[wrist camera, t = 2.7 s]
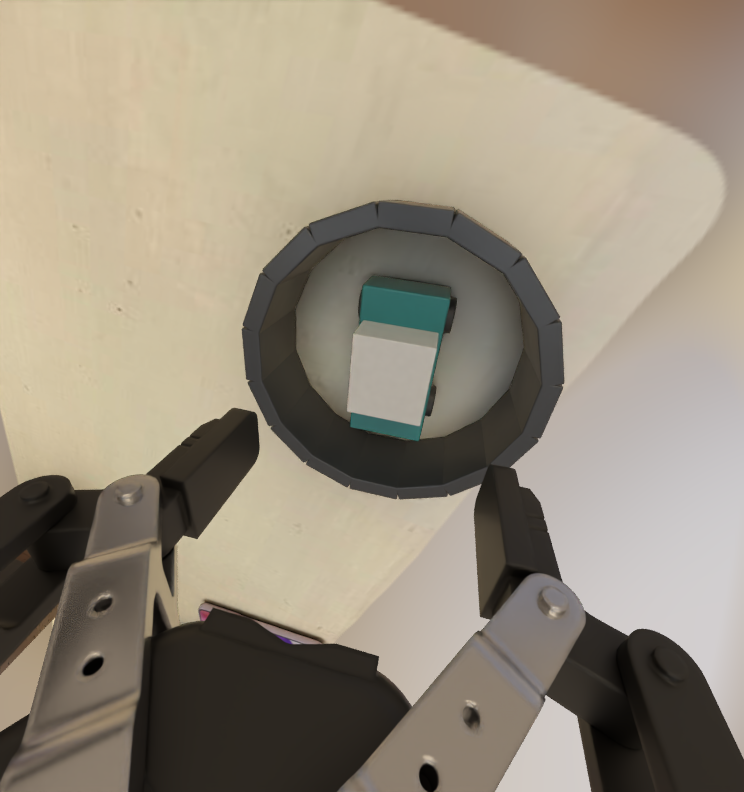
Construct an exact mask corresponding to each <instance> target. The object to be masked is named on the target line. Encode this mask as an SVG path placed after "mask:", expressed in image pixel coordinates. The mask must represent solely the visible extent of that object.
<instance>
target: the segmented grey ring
mask: <svg viewBox="0 0 744 792" xmlns="http://www.w3.org/2000/svg"><path fill="white" fill-rule="evenodd" d="M377 228H384V229H391V230H398V231H406V232H413V233H420V234H428V235H435V236H442V237H447V238H449V239H450V240H452V241H453V242H455V243H456V244H458V245H460V246H461V247H463V248H464V249H466V250H467V251H469V252H470V253H472V254H473V255H475V256H477V257H478V258H480V259H481V260H483V261H484V262H486V263H487V264H489V265H491V266H492V267H494V268H495V269H497V270H498V271H500V272H501V273H503V275H504V276H505V278H506V280H507V281H508V283H509V285H510V286H511V288H512V290H513V291H514V293H515V294H516V296H517V298H518V299H519V301H520V311H521V322H522V332H523V342H524V349H523V352H522V355H521V358H520V361H519V363H518V366H517V369H516V372H515V375H514V377H513V380H512V383H511V386H510V389H509V390H508V391H507V392H506V393H505V394H504V395H503V396H502V397H501V398H500V400H499V401H498V402H497V403H496V404H495V405H494V406H493V407H492V408H491V409H490V410H489V411H488V412H487V413H486V415H485V416H484V417H483V418H482V419H481V420H479V421H477V422H475V423H473V424H471V425H468V426H466V427H464V428H462V429H460V430H458V431H456V432H454V433H452V434H450V435H448V436H446V437H440V438H431V439H422V440H419V441H414V440H413V441H403V440H399V439H394V438H389V437H384V436H380V435H375V434H370V433H368V432H366V431H364V430H362V429H357V428H353V427H350V422H348V421H347V420H345V419H343V418H342V417H340V416H338V415H336V414H335V413H334V412H333V410H332V409H331V408H330V407H329V406H328V405H327V404H326V403H325V401H324V400H323V399H322V398H321V397H320V396H319V395H318V394H317V392H316V391H315V390H314V389H313V388H312V387H311V386H310V384H309V381H308V379H307V376H306V374H305V371H304V369H303V366H302V364H301V361H300V359H299V356H298V354H297V351H296V331H295V308H296V305H297V303H298V301H299V298H300V296H301V293H302V291H303V289H304V286H305V284H306V282H307V279H308V277H309V274H310V272H311V270H312V268H313V267H314V266H315V265H316V264H318V263H319V262H320V261H321V260H322V259H323V258H324V257H325V256H326V255H327V254H328V253H330V252H331V251H332V250H333V249H334V248H335V247H336V246H337V245H338V244H339V243H340V242H341V241H343V240H344V239H345V238H348V237H351V236H354V235H357V234H361V233H364V232H367V231H370V230H373V229H377ZM559 318H560V316H559V314H558V312H557V311H556V309H555V307H554V305H553V304H552V302H551V300H550V298H549V297H548V295H547V293H546V292H545V290H544V288H543V286H542V285H541V283H540V281H539V279H538V278H537V276H536V274H535V273H534V271H533V269H532V267H531V266H530V264H529V262H528V260H527V259H526V258H525V257H524V256H523V255H522V253H521V252H520V251H519V250H517V249H516V248H515V247H514V246H512V245H511V244H510V243H509V242H508V241H506V240H505V239H503V238H502V237H500V236H499V235H497V234H496V233H494V232H493V231H491V230H490V229H488V228H487V227H485V226H484V225H482V224H481V223H479V222H478V221H476V220H474V219H473V218H471V217H470V216H468V215H467V214H465V213H464V212H462V211H461V210H459V209H457V210H456V212H455V214H454V207H448V206H440V205H432V204H424V203H416V202H408V201H401V200H387V201H377V202H371V203H368V204H365V205H362V206H359V207H356V208H353V209H350V210H347V211H344V212H341V213H338V214H335V215H332V216H329V217H327V218H324V219H321V220H318V221H315V222H312V223H310V224H309V226H307V227H304V228H303V229H302V230H301V231H300V232H299V233H298V234H297V235H296V236H295V237H294V238H293V239H292V240H291V241H290V242H289V243H288V244H287V245H286V246H285V247H284V248H283V249H282V250H281V251H280V252H279V253H278V254H277V255H276V256H275V257H274V258H273V259H272V260H271V261H270V262H269V263H268V264H267V265H266V266H265V267H264V268H263V273H260V274H259V277H258V280H257V283H256V286H255V289H254V292H253V295H252V298H251V301H250V304H249V307H248V310H247V313H246V316H245V319H244V322H243V326H244V328H242V338H243V349H244V360H245V370H246V379H247V380H250V381H249V382H248V385H249V387H250V389H251V391H252V393H253V395H254V397H255V399H256V401H257V403H258V405H259V407H260V409H261V411H262V414H263V416H264V418H265V420H266V422H267V424H268V426H272V427H271V430H272V431H273V432H274V433H275V434H276V435H277V436H278V437H279V438H280V439H281V440H282V441H283V442H284V443H285V444H286V445H287V446H288V447H289V448H290V449H291V450H292V451H293V452H294V453H295V454H296V455H297V456H298V457H299V458H300V459H301V461H302V462H306V461H307V460H308V461H307V463H306V465H308V466H309V467H311V468H313V469H315V470H317V471H318V472H320V473H322V474H324V475H326V476H327V477H329V478H331V479H333V480H335V481H336V482H338V483H340V484H342V485H344V486H345V487H348V486H349V485H350V489H354V490H358V491H363V492H367V493H371V494H375V495H380V496H384V497H388V498H393V499H397V495H398V497H399V499H415V498H432V497H447V495H448V494H449V495H450V496H452V495H454V494H457V493H459V492H462V491H464V490H467V489H470V488H472V487H475V486H477V485H480V484H482V482H483V479H484V476H485V474H486V471H487V468H488V466H489V465H490V464H494V465H499V466H504V467H508V468H510V467H511V466H512V465H513V464H514V463H515V462H516V461H517V460H518V459H520V457H522V456H523V455H524V454H525V453H526V452H527V451H528V450H530V449H531V448H532V447H533V446H534V445H535V444H536V443H537V442H538V438H541V436H542V434H543V432H544V430H545V427H546V425H547V423H548V421H549V419H550V416H551V414H552V412H553V410H554V407H555V405H556V403H557V401H558V398H559V396H560V394H561V392H562V390H563V386H562V384H564V362H563V339H562V322H561V321H560V320H559Z"/></svg>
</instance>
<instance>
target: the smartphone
mask: <svg viewBox="0 0 744 792" xmlns="http://www.w3.org/2000/svg"><path fill="white" fill-rule="evenodd" d="M212 608H217V609H220V610H223V611H227V612H230V613H234V614H237V615H240V614H239V613H236V612H233V611H230V610H227V609H224V608H221V607H218V606H215V605H212V604H209V603H203V604H201V605H200V607H199V610H198V611H199V617H200V621H205V620H206V618H207V617H208V615H209V613H210V611H211V610H212ZM240 616H242V615H240ZM244 617H245V616H244ZM247 618H248V617H247ZM250 619H251V618H250ZM253 620H254V619H253ZM254 621H256V622H257V623H258V624H260V625H261V626H263V627H264V628H266V629H267V630H269V631H270V632H272V633H273V634H274V635H276V636H277V637H279V638H280V639H282V640H283V641H285V642H286V643H289V644H322V643H321V642H319V641H316V640H313V639H310V638H307V637H304V636H301V635H299V634H296V633H293V632H290V631H287V630H284V629H281V628H278V627H275V626H272V625H269V624H266V623H263V622H260V621H257V620H254Z"/></svg>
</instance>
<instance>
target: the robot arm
mask: <svg viewBox="0 0 744 792" xmlns="http://www.w3.org/2000/svg"><path fill="white" fill-rule="evenodd" d="M259 448H260V447H259V433H258V419H257V414H256V413H255V412H252V411H247V410H242V409H238V408H232V409H231V410H229V411H228V412H227V413H226V414H225V415H224V416H223V417H222V418H221V419H214V420H212V421H210V422H207V423H205V424H203V425H201V426H200V427H199V428H198V429H197V430H195V431H194V432H193V433H192V434H191V435H190V437H188V438H186V439H185V440H184V441H183V442H182V443H181V445H179V446H177V447H176V448H175V449H174V450H173V451H172V452H171V453H169V454H168V455H167V456H166V457H165V458H164V459H163V460H162V461H160V462H159V463H158V464H157V465H156V466H155V467H154V468H153V469H151V470H150V471H149V472H148V473H147V474H146V475H143V474H139V475H131V476H127V477H124V478H121V479H119V480H117V481H115V482H113V483H112V484H110V485H109V486H107V487H106V488H105V489H104V490H74V489H73V487H72V485H71V483H70V480H69V479H68V478H66V477H64V476H59V475H49V476H42V477H38V478H34V479H31V480H29V481H26V482H24V483H22V484H20V485H18V486H17V487H15V488H13V489H12V490H10V491H9V492H7V493H6V494H4V495H3V496H2V497H0V572H1V571H2V570H3V569H4V568H6V567H7V566H8V565H9V564H10V563H11V562H12V561H14V560H15V559H16V558H17V557H18V556H19V555H20V554H22V553H23V552H24V551H25V550H27V551H28V553H29V554H30V556H31V557H30V558H29V559H28V560H27V561H26V562H24V563H23V564H22V565H21V566H20V567H19V568H18V569H17V570H16V571H14V572H13V573H12V574H11V575H10V576H9V577H8V578H7V579H6V580H4V581H3V582H2V583H1V584H0V667H1V666H2V664H3V663H4V662H5V661H6V660H7V659H8V658H9V657H10V656H11V655H12V654H13V652H14V651H15V650H16V649H17V648H18V647H19V646H20V645H21V644H22V643H23V642H24V640H25V639H26V638H27V637H28V636H29V635H30V634H31V633H32V632H33V631H34V629H35V628H36V627H37V626H38V625H39V624H40V623H41V622H42V621H43V620H44V619H45V617H46V616H47V615H48V614H49V613H50V612H51V611H52V610H53V609H54V608H55V607H56V605H57V604H58V603H59V606H58V610H57V614H56V617H55V621H54V625H53V629H52V632H51V636H50V640H49V644H48V648H47V651H46V655H45V659H44V662H43V666H42V670H41V674H40V678H39V681H38V685H37V689H36V693H35V697H34V700H33V704H32V708H31V711H30V714H28V715H27V716H25V717H24V718H22V719H20V720H19V721H17V722H15V723H14V724H12V725H11V726H9V727H8V728H6V729H4V730H3V731H1V732H0V792H495V790H496V788H497V787H498V785H499V783H500V781H501V780H502V778H503V776H504V774H505V772H506V770H507V769H508V767H509V765H510V764H511V762H512V760H513V758H514V756H515V755H516V753H517V751H518V749H519V748H520V746H521V744H522V742H523V741H524V739H525V737H526V735H527V733H528V732H529V730H530V728H531V726H532V725H533V723H534V721H535V719H536V718H537V716H538V714H539V712H540V710H541V708H542V706H543V704H544V702H545V698H544V697H545V695H547V696H548V697H550V698H551V699H553V700H554V701H556V702H557V703H559V704H560V705H562V706H564V707H565V708H566V709H568V710H570V711H571V712H572V713H574V714H575V715H577V717H578V723H579V728H580V733H581V738H582V744H583V749H584V754H585V760H586V765H587V771H588V776H589V781H590V787H591V792H744V759H743V757H742V755H741V753H740V750H739V749H738V746H737V744H736V742H735V740H734V738H733V736H732V734H731V731H730V729H729V727H728V725H727V723H726V721H725V719H724V717H723V715H722V713H721V711H720V708H719V706H718V704H717V702H716V700H715V698H714V696H713V694H712V691H711V689H710V687H709V685H708V683H707V681H706V679H705V677H704V675H703V673H702V671H701V670H700V668H699V667H698V665H697V664H696V663H695V662H694V660H693V659H692V658H691V657H690V656H689V655H688V654H687V653H686V652H685V651H684V650H683V649H682V648H681V647H680V646H679V645H677V644H676V643H675V642H673V641H672V640H671V639H669V638H667V637H666V636H664V635H662V634H660V633H658V632H655V631H652V630H648V629H637V630H635V631H633V632H632V633H631V634H630V635H629V636H627V635H625V634H624V633H622V632H620V631H618V630H616V629H614V628H613V627H610V626H609V625H607V624H605V623H604V622H602V621H600V620H598V619H596V618H595V617H593V616H591V615H590V614H589V613H587V612H586V611H585V610H584V608H583V606H582V604H581V602H580V600H579V599H578V597H577V596H576V594H575V593H574V592H573V591H572V590H571V589H570V588H569V587H568V586H567V585H565V584H564V583H563V582H562V579H561V575H560V572H559V568H558V564H557V561H556V557H555V554H554V550H553V547H552V543H551V539H550V536H549V533H548V532H547V530H548V529H547V525H546V522H545V520H544V514H543V511H542V508H541V504H540V502H539V501H538V499H537V498H536V497H535V495H534V494H533V492H532V491H531V490H530V489H528V488H523V487H519V483H518V478H517V474H516V471H515V469H513V468H508V467H504V466H499V465H494V464H490V465H489V466H488V468H487V471H486V474H485V476H484V479H483V482H482V484H481V488H480V490H479V493H478V496H477V498H476V503H475V509H474V524H475V539H476V540H475V541H476V558H477V575H478V592H479V607H480V608H479V609H480V617H483V618H486V619H490V621H489V622H488V623H487V625H486V626H485V627H484V628H483V629H482V630H481V631H477V632H476V633H475V634H474V635H473V636H472V637H471V638H470V639H469V640H468V642H467V643H466V644H465V645H464V646H463V647H462V649H461V650H460V651H459V652H458V653H457V655H456V656H455V657H454V658H453V659H452V661H451V662H450V663H449V664H448V665H447V666H446V668H445V669H444V670H443V671H442V672H441V674H440V675H439V676H438V677H437V678H436V679H435V681H434V682H433V683H432V684H431V685H430V686H429V688H428V689H427V690H426V691H425V693H424V694H423V695H422V696H421V697H420V698H419V700H418V701H417V702H416V703H415V704H414V705H413V707H412V706H411V704H410V703H409V702H408V700H407V699H406V697H405V696H404V695H403V693H402V692H401V691H400V690H399V689H398V688H397V687H396V685H395V684H394V683H393V682H391V681H390V680H389V679H388V678H387V677H386V676H384V675H383V674H381V673H380V672H379V671H377V666H378V660H379V656H376V655H372V654H369V653H366V652H362V651H359V650H356V649H352V648H348V647H345V646H342V645H338V644H289V643H286V642H285V641H283V640H282V639H280V638H279V637H277V636H276V635H274V634H273V633H272V632H270V631H269V630H267V629H266V628H264V627H263V626H261V625H260V624H258V623H257V622H256V621H254V620H253V619H250V618H247V617H244V616H240V615H237V614H234V613H230V612H227V611H223V610H220V609H217V608H212V610H211V611H210V613H209V615H208V617H207V618H206V620H205V621H196V622H190V623H186V624H182V625H180V619H179V613H178V567H177V545H176V543H177V542H178V541H179V540H180V539H181V537H182V536H183V535H184V536H188V537H191V538H195V539H198V537H199V536H200V535H201V533H202V532H203V531H204V529H205V528H206V527H207V525H208V524H209V523H210V521H211V520H212V519H213V518H214V516H215V515H216V514H217V512H218V511H219V510H220V508H221V507H222V506H223V504H224V503H225V502H226V500H227V499H228V498H229V497H230V495H231V494H232V493H233V491H234V490H235V489H236V487H237V486H238V485H239V483H240V482H241V481H242V479H243V478H244V477H245V476H246V474H247V473H248V472H249V470H250V469H251V468H252V466H253V465H254V464H255V462H256V460H257V457H258V454H259Z"/></svg>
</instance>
